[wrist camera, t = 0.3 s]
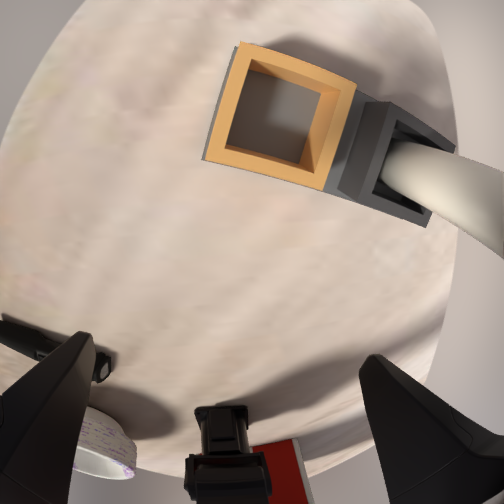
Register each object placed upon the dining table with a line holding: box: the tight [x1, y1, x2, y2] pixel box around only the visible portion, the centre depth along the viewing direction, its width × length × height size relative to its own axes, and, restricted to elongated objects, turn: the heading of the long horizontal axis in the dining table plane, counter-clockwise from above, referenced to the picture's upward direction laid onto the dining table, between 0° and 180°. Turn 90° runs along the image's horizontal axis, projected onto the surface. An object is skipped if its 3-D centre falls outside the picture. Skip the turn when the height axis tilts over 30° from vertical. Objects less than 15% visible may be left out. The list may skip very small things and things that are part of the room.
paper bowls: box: [73, 406, 137, 479], centre depth 27 cm, size 15×15×8 cm
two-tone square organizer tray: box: [201, 42, 455, 228], centre depth 16 cm, size 16×8×4 cm, turn 74°
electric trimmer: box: [0, 320, 111, 383], centre depth 22 cm, size 4×16×3 cm, turn 70°
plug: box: [376, 137, 504, 259], centre depth 12 cm, size 4×4×13 cm
